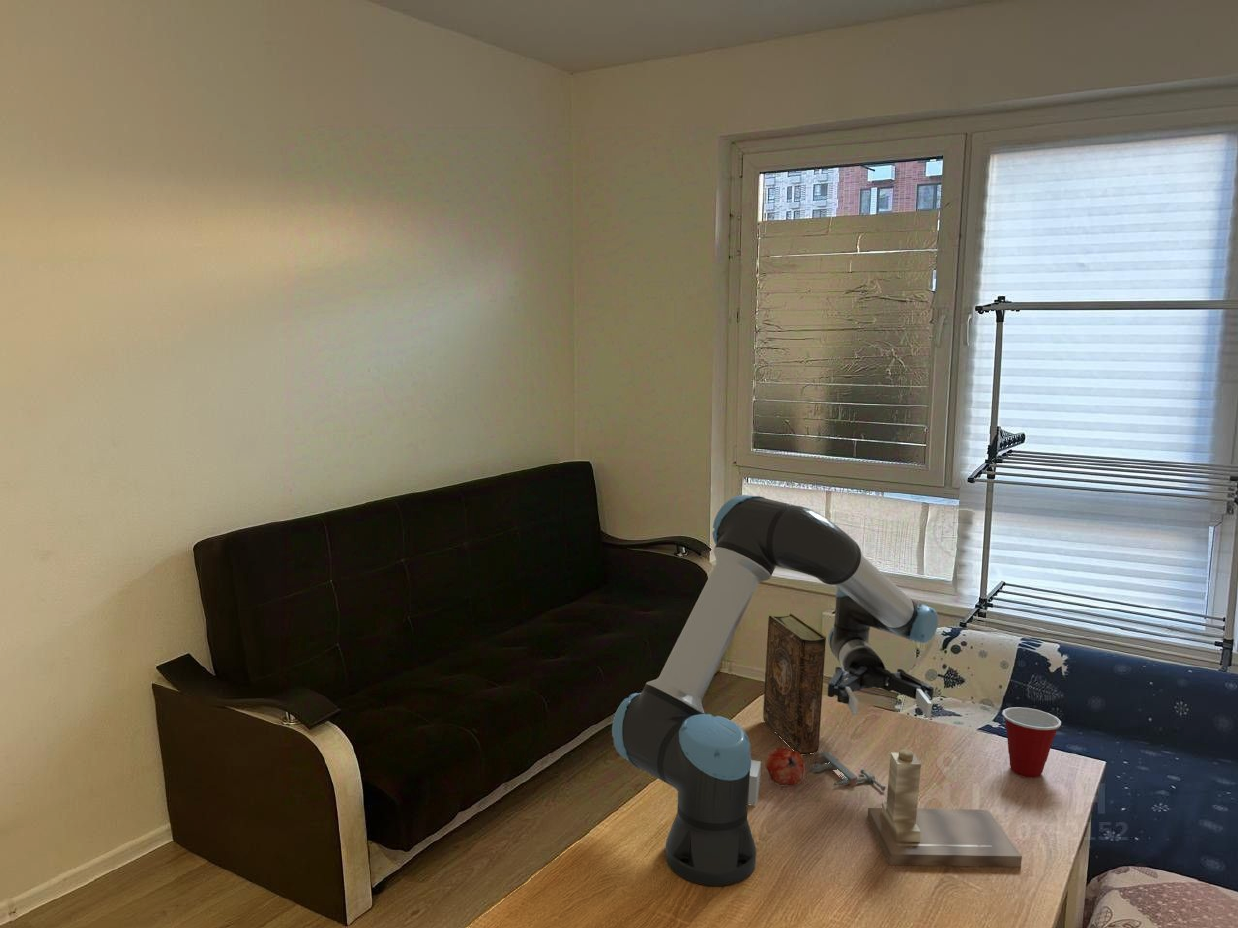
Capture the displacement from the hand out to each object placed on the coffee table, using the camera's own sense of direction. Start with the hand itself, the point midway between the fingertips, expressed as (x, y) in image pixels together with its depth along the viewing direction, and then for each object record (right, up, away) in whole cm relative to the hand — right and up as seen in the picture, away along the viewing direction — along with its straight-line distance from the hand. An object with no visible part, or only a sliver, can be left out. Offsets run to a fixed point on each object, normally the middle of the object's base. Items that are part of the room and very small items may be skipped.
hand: (892, 709), depth 168 cm
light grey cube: (-27, -18, +6) cm, 33 cm away
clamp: (-6, -17, +13) cm, 23 cm away
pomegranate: (-18, -17, +11) cm, 27 cm away
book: (-13, -14, +29) cm, 35 cm away
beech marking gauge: (-1, -19, -7) cm, 20 cm away
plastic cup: (+32, -17, +17) cm, 40 cm away
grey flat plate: (+6, -21, -8) cm, 23 cm away
